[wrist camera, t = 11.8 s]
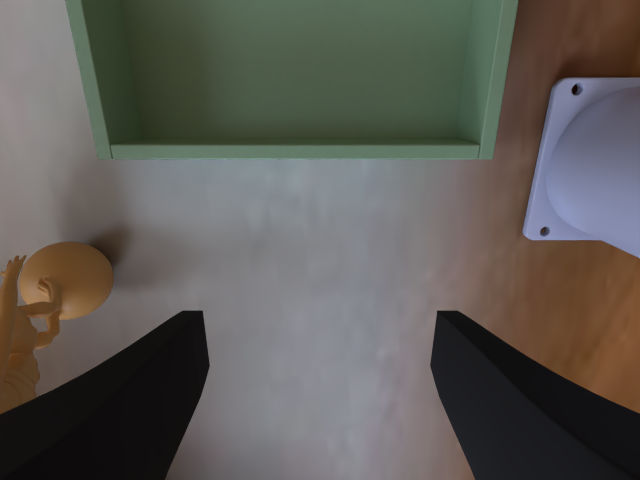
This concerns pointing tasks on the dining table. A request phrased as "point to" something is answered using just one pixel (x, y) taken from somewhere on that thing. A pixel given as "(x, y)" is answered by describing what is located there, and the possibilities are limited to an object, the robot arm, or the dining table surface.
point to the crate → (293, 77)
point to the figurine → (45, 308)
